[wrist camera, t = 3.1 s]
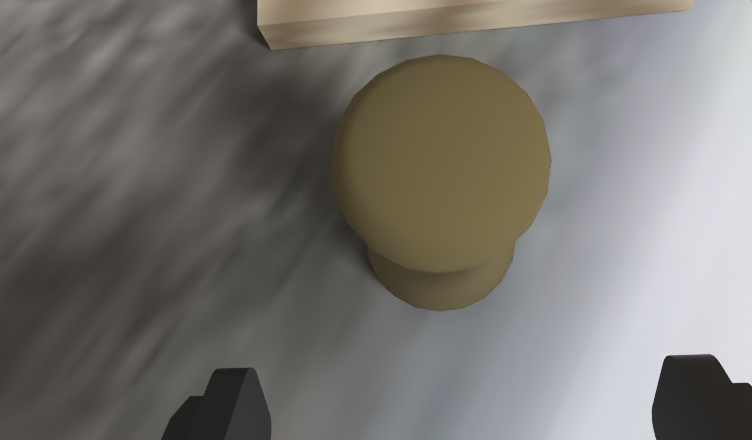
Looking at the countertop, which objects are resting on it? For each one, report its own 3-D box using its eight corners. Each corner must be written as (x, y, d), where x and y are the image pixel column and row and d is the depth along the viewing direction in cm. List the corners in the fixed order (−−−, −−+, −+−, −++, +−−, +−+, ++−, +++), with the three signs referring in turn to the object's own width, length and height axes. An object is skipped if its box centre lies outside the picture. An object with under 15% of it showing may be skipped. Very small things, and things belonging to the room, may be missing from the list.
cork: (393, 147, 23) (354, -18, 13) (534, 189, 22) (621, 49, 12) (344, 281, 22) (256, 228, 12) (489, 333, 21) (538, 325, 11)
